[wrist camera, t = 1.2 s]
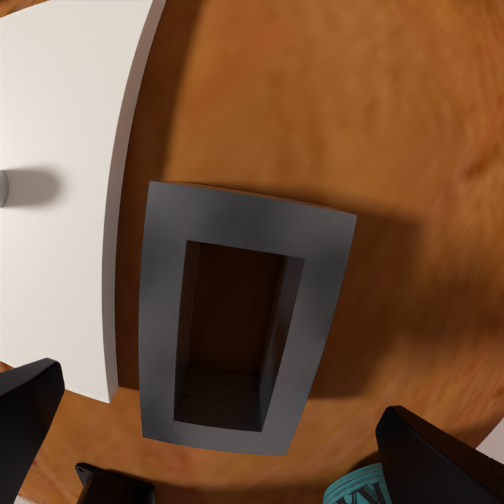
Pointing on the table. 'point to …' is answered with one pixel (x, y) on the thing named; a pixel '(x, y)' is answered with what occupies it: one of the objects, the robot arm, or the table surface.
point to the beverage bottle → (359, 488)
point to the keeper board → (66, 179)
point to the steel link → (279, 327)
